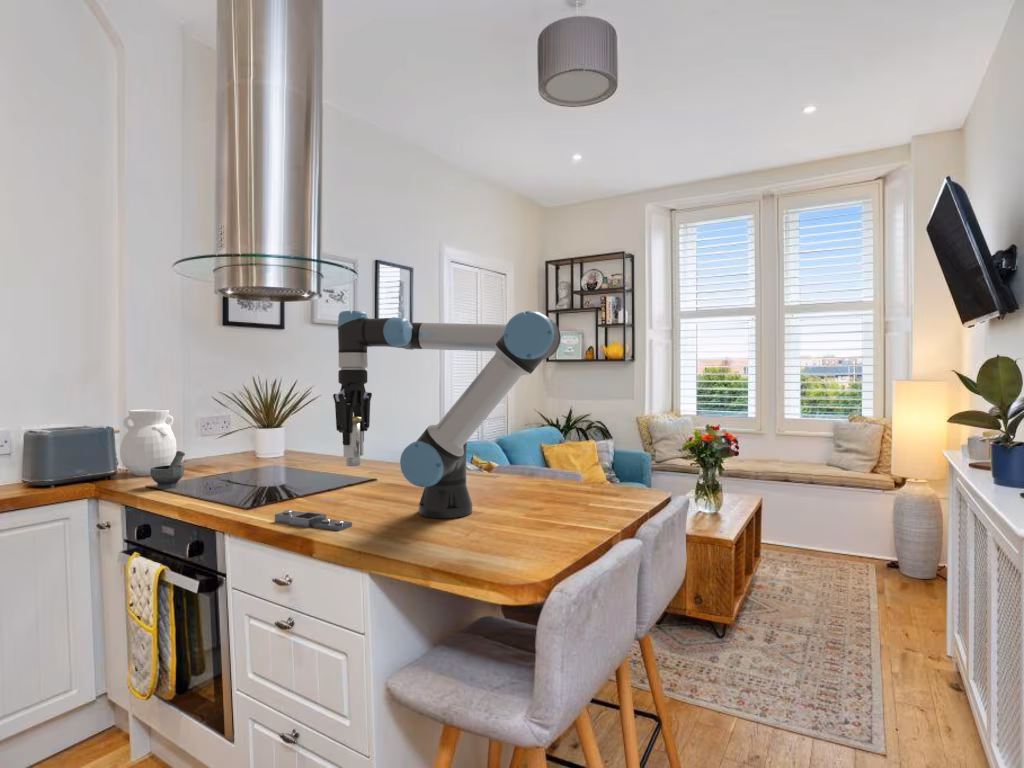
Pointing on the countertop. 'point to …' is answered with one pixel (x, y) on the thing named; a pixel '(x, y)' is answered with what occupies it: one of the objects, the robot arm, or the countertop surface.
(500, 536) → the countertop surface
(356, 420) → the pin
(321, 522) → the grey mounting bracket
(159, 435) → the white handled vase
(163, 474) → the mortar and pestle
